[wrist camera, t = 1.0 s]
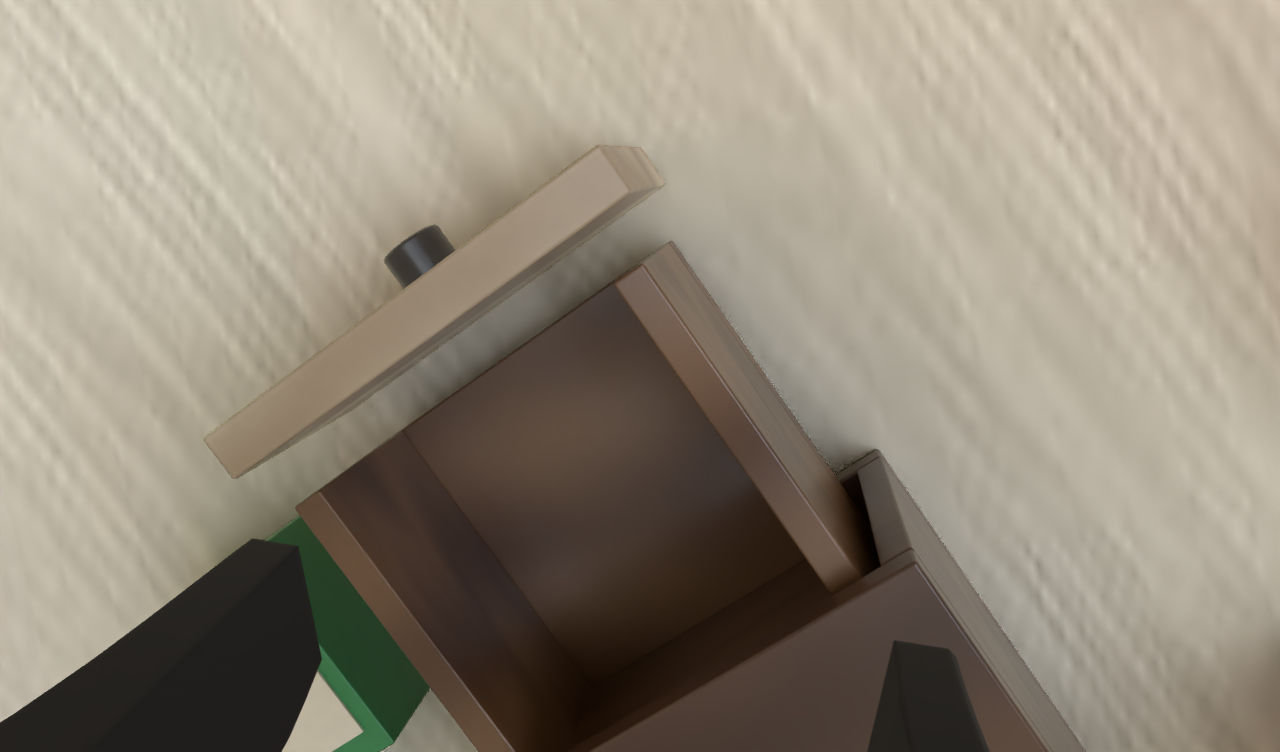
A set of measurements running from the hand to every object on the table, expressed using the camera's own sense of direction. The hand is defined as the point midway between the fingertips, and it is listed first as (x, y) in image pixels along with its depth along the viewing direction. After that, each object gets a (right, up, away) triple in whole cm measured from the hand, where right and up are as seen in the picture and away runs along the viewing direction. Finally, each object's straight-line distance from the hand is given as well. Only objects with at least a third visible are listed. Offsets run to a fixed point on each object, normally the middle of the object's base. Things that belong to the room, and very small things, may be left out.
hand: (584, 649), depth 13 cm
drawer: (-1, +2, +17) cm, 17 cm away
